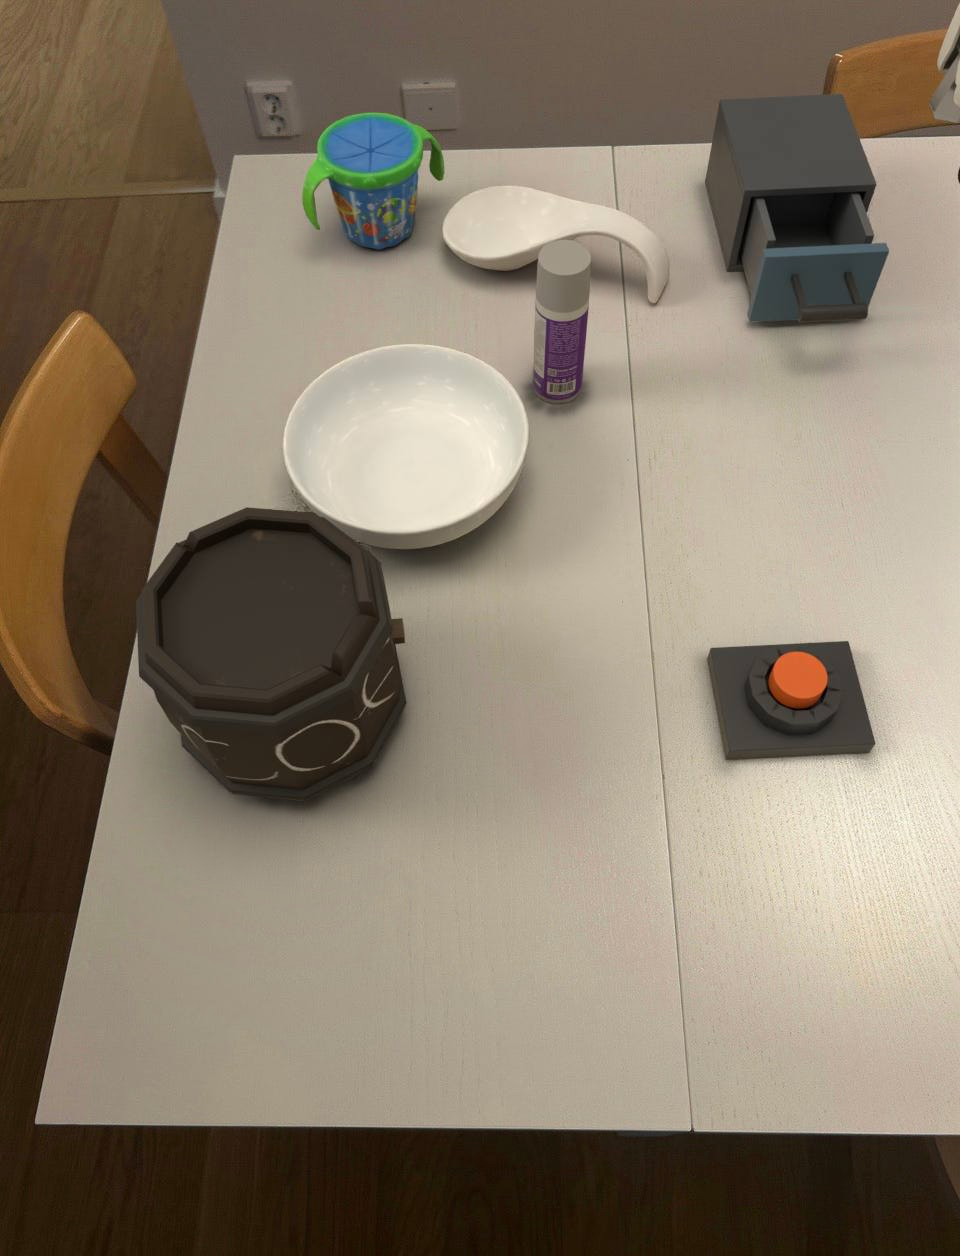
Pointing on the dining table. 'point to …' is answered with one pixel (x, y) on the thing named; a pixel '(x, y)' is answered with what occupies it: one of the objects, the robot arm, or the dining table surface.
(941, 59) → the robot arm
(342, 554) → the dark grey faceted cylinder
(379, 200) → the snack cup
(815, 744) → the dark grey button base
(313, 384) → the serving bowl
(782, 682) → the button
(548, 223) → the spoon rest
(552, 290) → the container
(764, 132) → the grey cabinet body
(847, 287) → the blue cabinet drawer
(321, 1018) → the dining table surface
